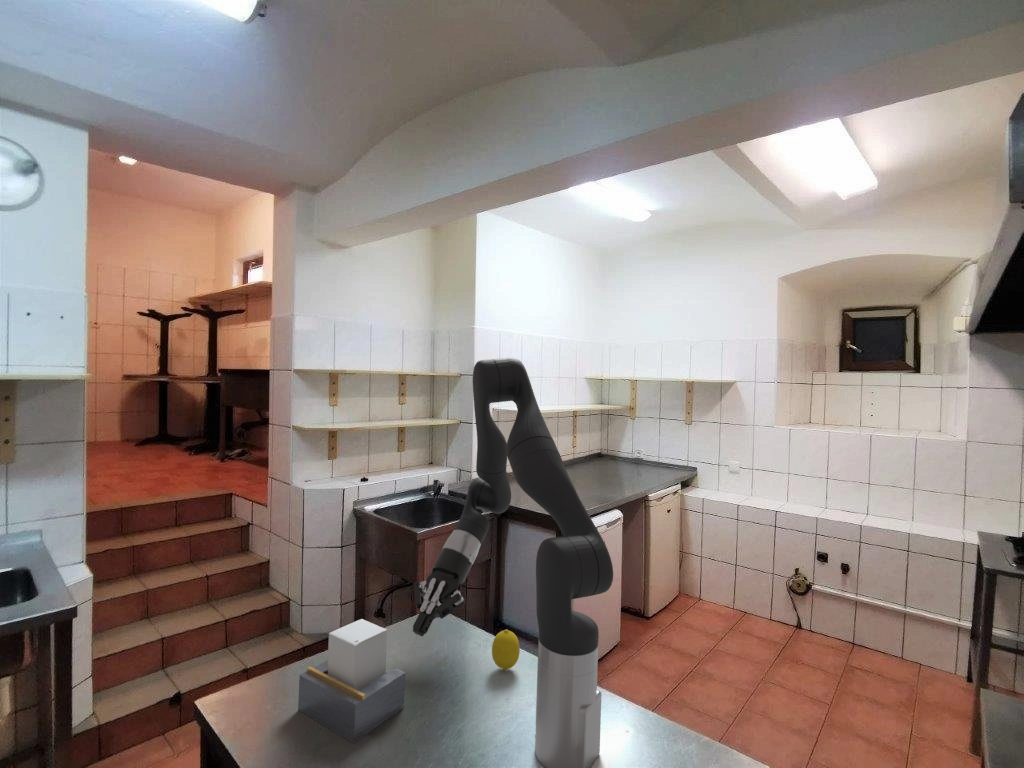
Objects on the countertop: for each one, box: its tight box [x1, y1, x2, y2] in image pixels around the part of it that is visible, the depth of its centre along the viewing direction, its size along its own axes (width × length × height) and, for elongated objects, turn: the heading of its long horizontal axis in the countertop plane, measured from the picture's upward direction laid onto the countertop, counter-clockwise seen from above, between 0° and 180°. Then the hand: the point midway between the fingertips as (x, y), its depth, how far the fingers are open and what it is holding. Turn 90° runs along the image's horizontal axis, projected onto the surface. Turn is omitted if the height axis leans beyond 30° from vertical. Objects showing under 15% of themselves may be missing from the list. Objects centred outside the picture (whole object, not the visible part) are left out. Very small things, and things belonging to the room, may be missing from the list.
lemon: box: [491, 629, 521, 672], centre depth 100 cm, size 6×6×8 cm
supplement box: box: [327, 618, 388, 690], centre depth 88 cm, size 7×7×13 cm
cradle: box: [297, 659, 407, 744], centre depth 86 cm, size 14×11×7 cm
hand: (417, 633), depth 100 cm, fingers closed
